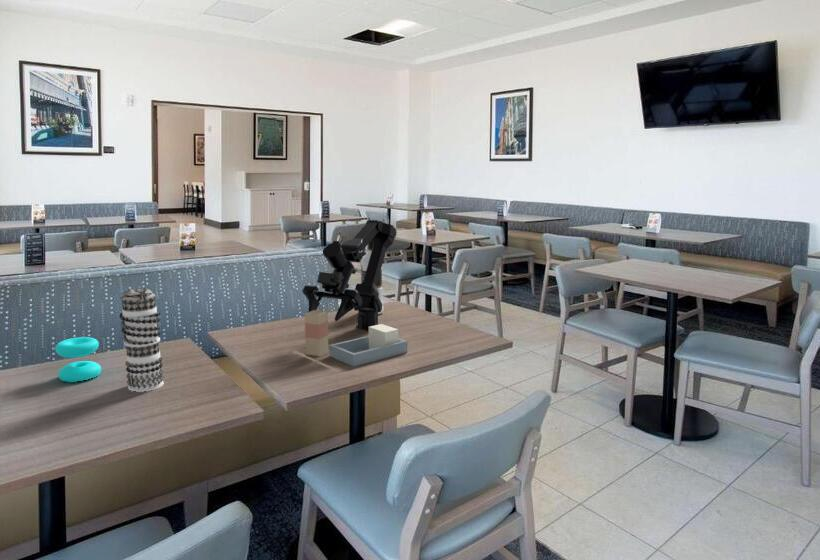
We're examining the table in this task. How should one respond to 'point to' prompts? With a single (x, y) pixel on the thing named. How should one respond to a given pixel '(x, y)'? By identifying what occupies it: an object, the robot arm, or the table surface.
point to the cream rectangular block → (382, 336)
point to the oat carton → (316, 332)
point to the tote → (364, 351)
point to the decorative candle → (141, 340)
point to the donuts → (81, 368)
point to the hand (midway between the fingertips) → (322, 318)
